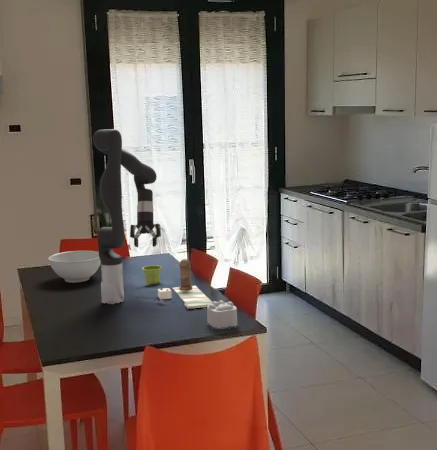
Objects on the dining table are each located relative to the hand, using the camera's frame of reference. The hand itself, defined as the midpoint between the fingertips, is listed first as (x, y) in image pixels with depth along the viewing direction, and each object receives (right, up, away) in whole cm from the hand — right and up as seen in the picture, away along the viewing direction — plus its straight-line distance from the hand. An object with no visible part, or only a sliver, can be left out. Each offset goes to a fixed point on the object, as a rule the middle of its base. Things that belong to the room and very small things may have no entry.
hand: (145, 246), depth 298 cm
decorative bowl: (-38, -18, +29) cm, 51 cm away
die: (+10, -24, -12) cm, 28 cm away
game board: (+22, -23, -10) cm, 33 cm away
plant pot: (+2, -19, +15) cm, 24 cm away
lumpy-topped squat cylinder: (+35, -29, -46) cm, 64 cm away
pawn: (+19, -19, +1) cm, 27 cm away
